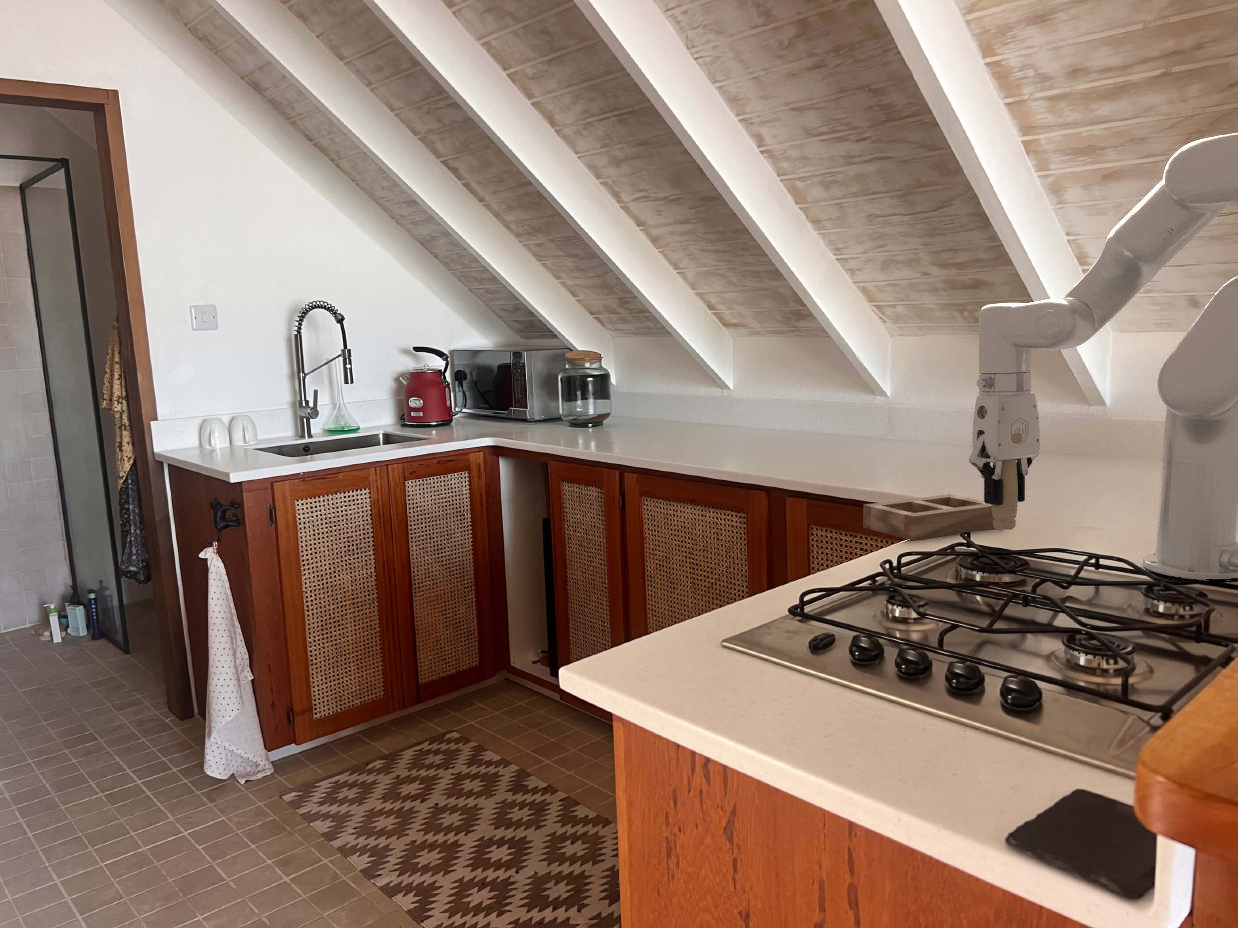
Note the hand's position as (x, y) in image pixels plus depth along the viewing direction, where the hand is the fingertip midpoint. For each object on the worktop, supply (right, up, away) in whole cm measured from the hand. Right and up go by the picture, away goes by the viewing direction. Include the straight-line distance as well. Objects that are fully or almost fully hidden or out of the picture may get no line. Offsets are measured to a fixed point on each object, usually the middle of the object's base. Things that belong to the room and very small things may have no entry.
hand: (1004, 501), depth 149 cm
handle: (0, -5, +1) cm, 4 cm away
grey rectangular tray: (-6, -5, +17) cm, 18 cm away
